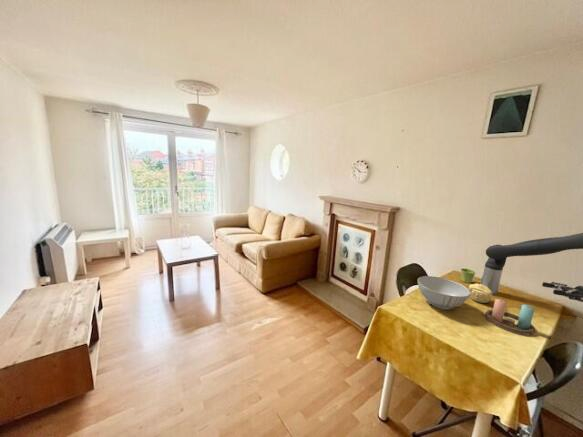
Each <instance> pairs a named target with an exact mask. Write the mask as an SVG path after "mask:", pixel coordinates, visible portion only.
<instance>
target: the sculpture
mask: <svg viewBox="0 0 583 437" xmlns="http://www.w3.org/2000/svg"><path fill="white" fill-rule="evenodd" d="M468 289H469V290H470V292H471V294H470V296H469V298H471V300H472V301H475V302H477V303H481V304H486V303H489V302H490V301H491V299H492V297H493V294H492V291H491V290H490V289H489V288H488V287H487V286H484V285H482V284H480V283H478V282H477V283H473V284H472V283H469V287H468Z"/></svg>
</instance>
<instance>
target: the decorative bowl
mask: <svg viewBox="0 0 583 437" xmlns="http://www.w3.org/2000/svg"><path fill="white" fill-rule="evenodd" d="M417 285H418V289H419V291H420V294H422V296H423V297H424V298H425V299H426V301H427V302H428V301H429V302H428V303H429V304H430V305H431V304H432V305H431V306H433V305H434V306H433V307H435V306H436V307H435V308H437V307H438V309H440V310H451V309H453V308H456V307H459V306H461V305H463V304H464V303H466V302H467V301H468V299H469V298H470V294H471V292H470V290H469V287H466V286H464V285H463V284H461V283H460V282H456V281H454V280H451V279H448V278H446V277H445V278H444V277H440V276H433V275H432V276H430V275H425V276H420V277H418V278H417Z"/></svg>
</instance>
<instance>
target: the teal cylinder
mask: <svg viewBox="0 0 583 437" xmlns="http://www.w3.org/2000/svg"><path fill="white" fill-rule="evenodd" d="M534 313H535V307H533V306H530V305H528V304H521V308H520V312H519V315H518V316H519V319H518V320H517V324H516V327H517V329H519V330H530V325H531V324H532V320H533V316H534Z"/></svg>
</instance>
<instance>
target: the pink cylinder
mask: <svg viewBox="0 0 583 437" xmlns="http://www.w3.org/2000/svg"><path fill="white" fill-rule="evenodd" d="M507 303H508V302H507V301H505V300H503V299H500V298H495V299H494V303H493V309H492V310H493V312H492V314H491V316H490V317H491V318H492V319H494V320H496V321H497V322H499V323H501V324H503V322H502V321H503V319H504V318H505V316H504V313H505V312H506V308H507Z"/></svg>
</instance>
